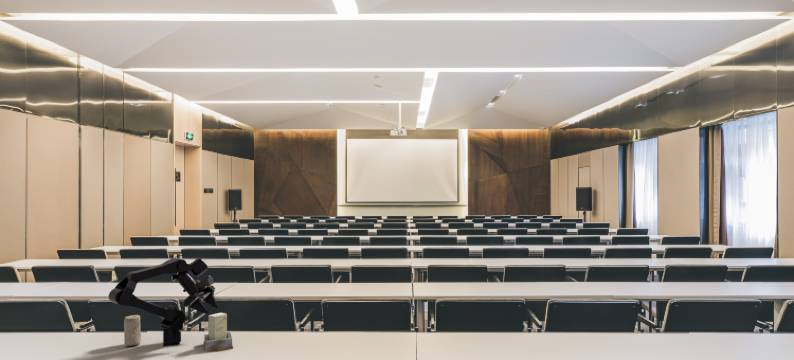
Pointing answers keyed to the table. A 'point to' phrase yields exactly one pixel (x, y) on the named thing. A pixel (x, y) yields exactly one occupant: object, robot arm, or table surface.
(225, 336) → the skincare box
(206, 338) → the socket
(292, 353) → the table surface
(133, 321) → the carving
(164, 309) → the robot arm
